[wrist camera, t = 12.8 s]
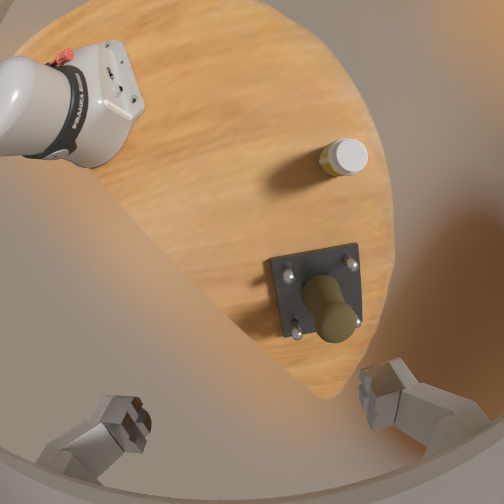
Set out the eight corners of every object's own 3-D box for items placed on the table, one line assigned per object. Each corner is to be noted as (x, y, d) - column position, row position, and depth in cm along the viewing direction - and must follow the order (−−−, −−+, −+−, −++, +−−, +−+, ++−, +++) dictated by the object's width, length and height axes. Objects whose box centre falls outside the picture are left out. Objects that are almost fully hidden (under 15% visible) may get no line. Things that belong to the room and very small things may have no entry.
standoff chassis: (270, 257, 42) (271, 267, 37) (355, 242, 41) (366, 250, 36) (283, 333, 45) (285, 349, 40) (360, 318, 44) (369, 332, 40)
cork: (311, 318, 43) (326, 358, 32) (294, 287, 42) (305, 322, 31) (346, 299, 42) (370, 334, 31) (330, 267, 41) (352, 296, 30)
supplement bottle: (351, 174, 39) (373, 174, 30) (320, 178, 39) (336, 177, 31) (346, 142, 37) (367, 134, 29) (315, 145, 38) (329, 136, 30)
